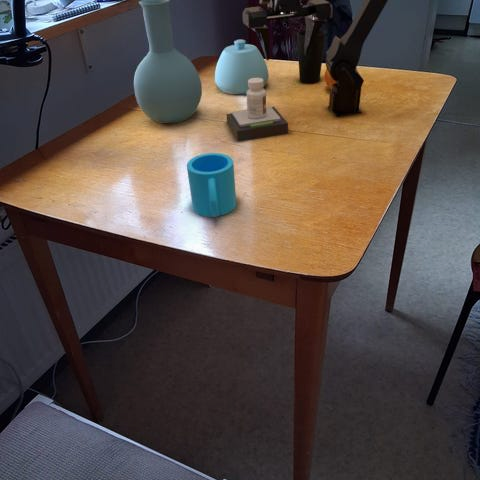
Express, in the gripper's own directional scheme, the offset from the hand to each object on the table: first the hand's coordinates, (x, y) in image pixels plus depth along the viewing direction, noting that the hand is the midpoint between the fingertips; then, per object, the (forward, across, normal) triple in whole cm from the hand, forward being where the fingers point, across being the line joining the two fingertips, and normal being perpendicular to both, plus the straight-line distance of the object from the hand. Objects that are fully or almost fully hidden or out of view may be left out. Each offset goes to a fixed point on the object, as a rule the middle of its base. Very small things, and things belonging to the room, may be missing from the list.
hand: (286, 57), depth 109 cm
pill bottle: (+10, +9, +5) cm, 14 cm away
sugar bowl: (+13, +5, -25) cm, 29 cm away
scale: (+13, +9, +5) cm, 17 cm away
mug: (+13, +26, +38) cm, 48 cm away
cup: (+13, -14, -22) cm, 29 cm away
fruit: (+13, -19, -12) cm, 26 cm away
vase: (+13, +27, -11) cm, 32 cm away
